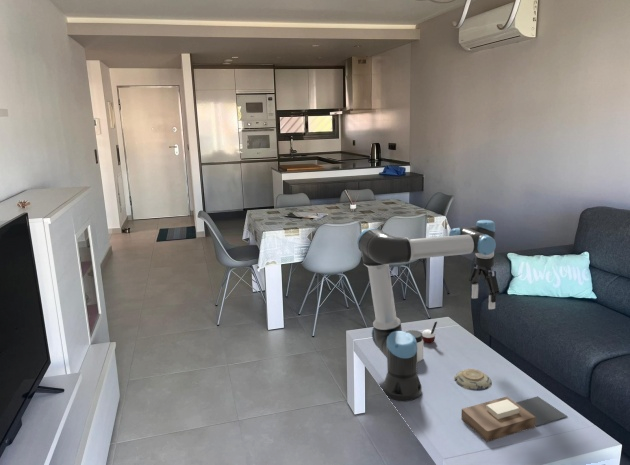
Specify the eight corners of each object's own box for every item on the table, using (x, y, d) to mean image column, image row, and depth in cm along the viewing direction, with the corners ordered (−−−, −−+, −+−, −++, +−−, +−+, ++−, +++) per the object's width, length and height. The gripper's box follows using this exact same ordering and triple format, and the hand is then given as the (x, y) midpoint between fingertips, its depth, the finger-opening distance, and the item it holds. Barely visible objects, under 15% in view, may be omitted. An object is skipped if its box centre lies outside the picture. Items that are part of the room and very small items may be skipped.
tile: (497, 419, 165) (497, 414, 165) (486, 410, 171) (486, 404, 170) (518, 413, 168) (519, 408, 167) (506, 404, 173) (507, 399, 173)
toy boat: (419, 340, 237) (417, 317, 235) (430, 337, 239) (429, 315, 236) (427, 347, 228) (426, 324, 226) (439, 345, 229) (438, 321, 227)
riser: (487, 441, 160) (487, 431, 159) (461, 418, 173) (461, 409, 172) (534, 427, 166) (535, 416, 165) (506, 406, 179) (507, 396, 178)
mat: (536, 426, 166) (536, 425, 166) (507, 405, 179) (507, 404, 179) (567, 417, 171) (567, 416, 170) (537, 397, 184) (537, 396, 183)
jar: (402, 361, 216) (402, 336, 214) (404, 353, 224) (404, 329, 221) (422, 363, 214) (422, 338, 211) (424, 355, 221) (424, 330, 219)
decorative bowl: (500, 386, 193) (476, 369, 207) (500, 378, 192) (476, 361, 206) (468, 395, 188) (446, 377, 202) (468, 386, 188) (446, 369, 202)
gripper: (510, 263, 193) (507, 312, 198) (477, 248, 217) (475, 293, 221) (493, 265, 192) (491, 314, 196) (461, 250, 215) (460, 294, 220)
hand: (482, 303), depth 209 cm, fingers open, 13 cm apart
